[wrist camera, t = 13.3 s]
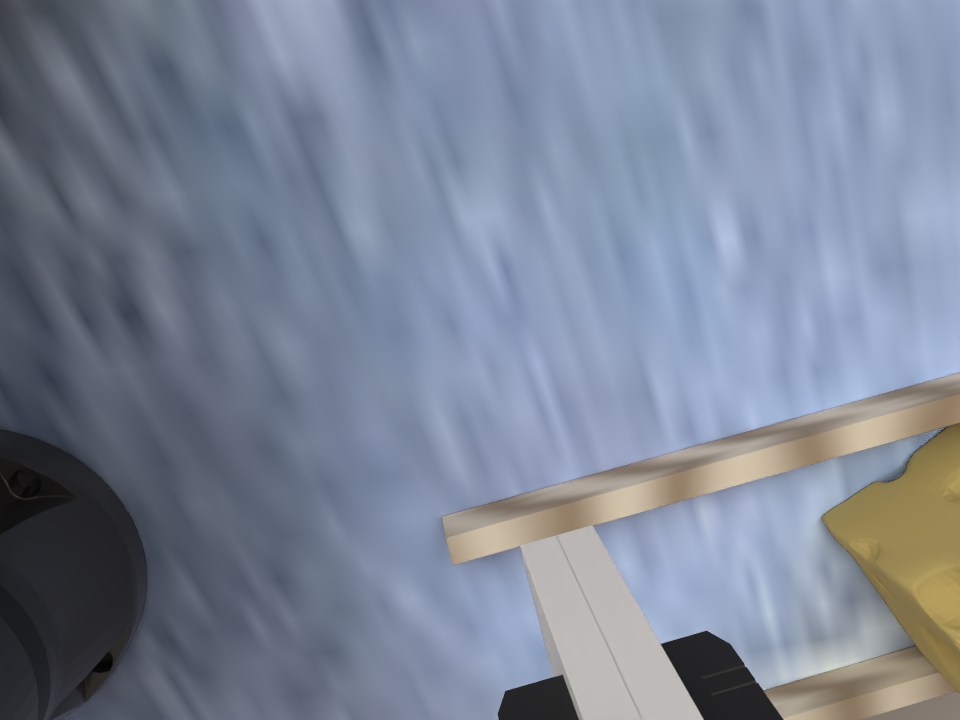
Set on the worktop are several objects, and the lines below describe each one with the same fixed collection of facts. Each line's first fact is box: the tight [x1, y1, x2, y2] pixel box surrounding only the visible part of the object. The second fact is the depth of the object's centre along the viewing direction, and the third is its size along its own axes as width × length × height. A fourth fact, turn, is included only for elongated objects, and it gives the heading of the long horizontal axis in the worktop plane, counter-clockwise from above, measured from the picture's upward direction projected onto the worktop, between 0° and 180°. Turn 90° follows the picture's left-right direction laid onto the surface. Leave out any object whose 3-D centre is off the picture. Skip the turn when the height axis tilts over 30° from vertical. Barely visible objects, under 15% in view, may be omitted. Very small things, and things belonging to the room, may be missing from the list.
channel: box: [442, 373, 960, 720], centre depth 46 cm, size 36×17×6 cm, turn 104°
